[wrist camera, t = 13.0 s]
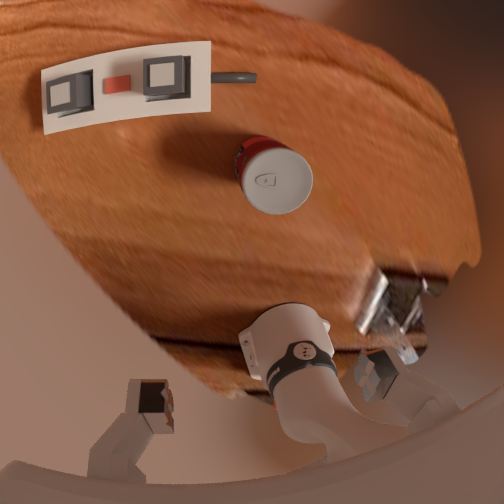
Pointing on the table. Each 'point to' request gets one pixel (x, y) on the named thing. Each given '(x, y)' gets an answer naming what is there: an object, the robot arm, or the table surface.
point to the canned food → (272, 175)
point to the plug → (164, 76)
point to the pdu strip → (136, 95)
